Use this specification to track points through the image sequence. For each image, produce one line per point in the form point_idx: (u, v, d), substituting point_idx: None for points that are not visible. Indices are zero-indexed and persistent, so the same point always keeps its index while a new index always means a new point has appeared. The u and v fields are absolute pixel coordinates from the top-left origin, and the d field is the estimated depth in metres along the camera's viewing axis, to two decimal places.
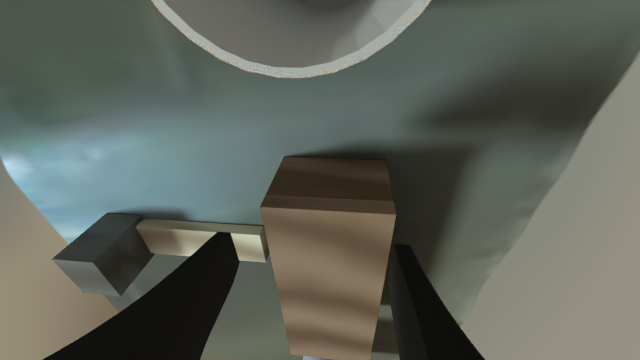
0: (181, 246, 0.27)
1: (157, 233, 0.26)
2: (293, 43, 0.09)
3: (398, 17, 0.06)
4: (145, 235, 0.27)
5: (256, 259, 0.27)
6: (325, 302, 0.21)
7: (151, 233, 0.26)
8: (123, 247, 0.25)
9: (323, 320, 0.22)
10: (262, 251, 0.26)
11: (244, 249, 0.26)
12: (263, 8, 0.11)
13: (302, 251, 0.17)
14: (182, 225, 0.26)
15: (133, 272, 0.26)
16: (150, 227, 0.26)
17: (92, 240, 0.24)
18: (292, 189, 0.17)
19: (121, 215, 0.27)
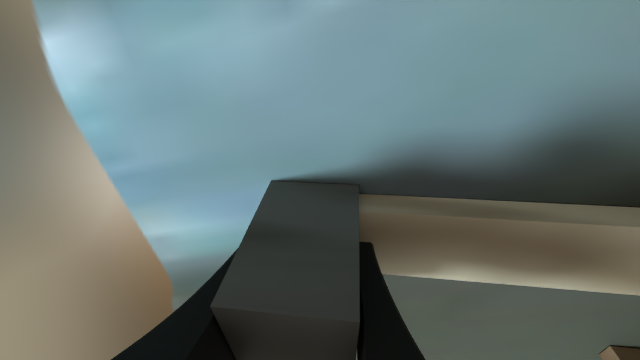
0: (446, 258, 0.12)
1: (407, 227, 0.11)
2: None
3: None
4: (369, 232, 0.11)
5: (629, 289, 0.11)
6: None
7: (390, 227, 0.11)
8: None
9: None
10: None
11: (623, 267, 0.11)
12: None
13: None
14: (474, 208, 0.11)
15: None
16: (396, 213, 0.11)
17: (292, 245, 0.09)
18: None
19: (310, 185, 0.11)
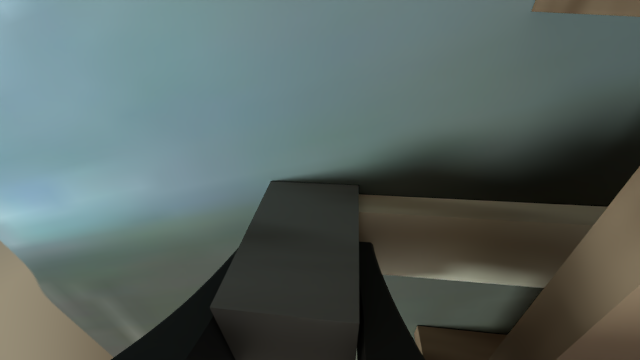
0: (446, 259, 0.12)
1: (407, 228, 0.11)
2: None
3: None
4: (369, 233, 0.11)
5: None
6: None
7: (390, 228, 0.11)
8: None
9: None
10: None
11: None
12: None
13: None
14: (474, 209, 0.11)
15: None
16: (396, 213, 0.11)
17: (292, 246, 0.09)
18: None
19: (310, 186, 0.11)
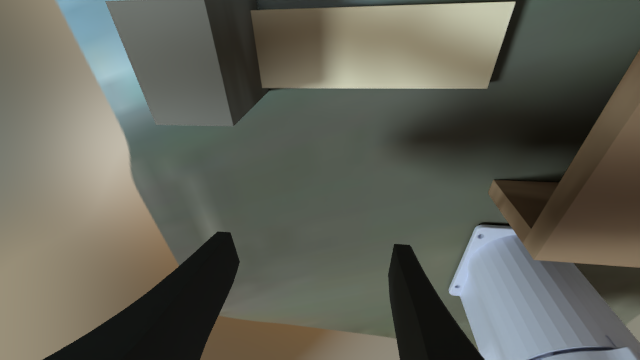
0: (328, 61, 0.15)
1: (290, 26, 0.14)
2: None
3: None
4: (264, 36, 0.14)
5: (471, 82, 0.14)
6: None
7: (278, 28, 0.14)
8: (238, 30, 0.12)
9: None
10: (496, 55, 0.13)
11: (458, 54, 0.14)
12: None
13: None
14: None
15: (246, 97, 0.14)
16: (279, 10, 0.14)
17: None
18: None
19: None
